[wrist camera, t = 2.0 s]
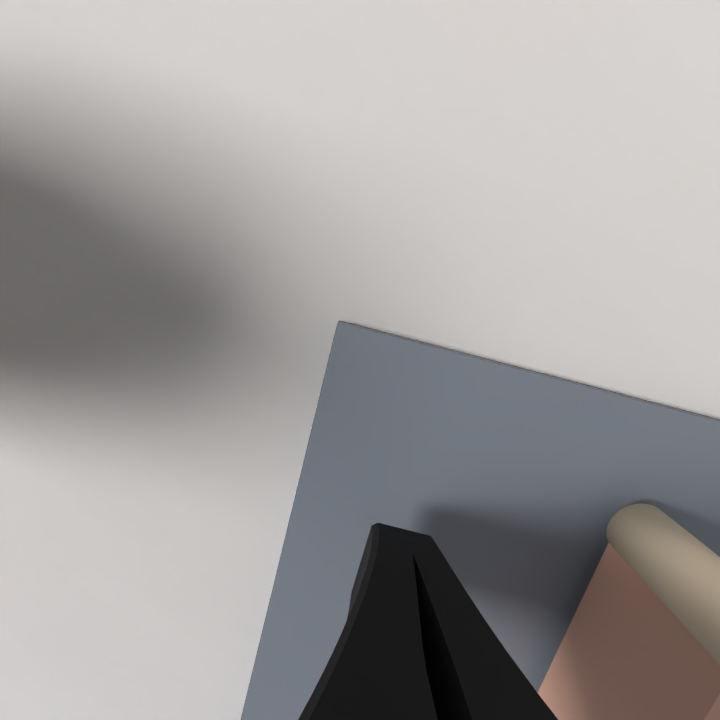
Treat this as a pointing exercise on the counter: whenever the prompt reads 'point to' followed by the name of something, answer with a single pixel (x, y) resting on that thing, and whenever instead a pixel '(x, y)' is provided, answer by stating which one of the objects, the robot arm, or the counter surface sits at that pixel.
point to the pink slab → (643, 628)
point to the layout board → (469, 495)
